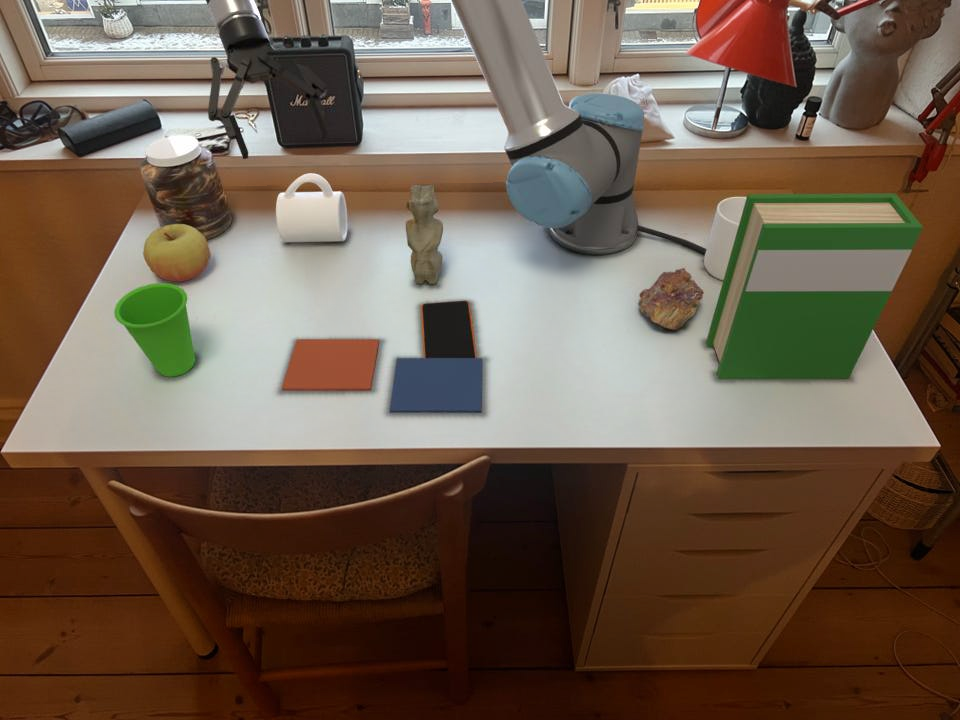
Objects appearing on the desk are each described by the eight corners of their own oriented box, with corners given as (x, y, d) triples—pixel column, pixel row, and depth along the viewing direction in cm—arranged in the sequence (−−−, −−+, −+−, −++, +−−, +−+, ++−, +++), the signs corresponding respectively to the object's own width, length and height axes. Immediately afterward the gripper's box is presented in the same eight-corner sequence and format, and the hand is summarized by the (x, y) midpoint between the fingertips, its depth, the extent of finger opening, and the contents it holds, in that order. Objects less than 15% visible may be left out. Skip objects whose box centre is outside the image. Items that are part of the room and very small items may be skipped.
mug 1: (291, 225, 125) (277, 163, 116) (349, 224, 125) (339, 162, 116) (282, 251, 119) (267, 188, 110) (343, 250, 119) (333, 187, 110)
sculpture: (448, 263, 116) (444, 181, 105) (442, 289, 110) (437, 206, 100) (413, 261, 116) (406, 179, 106) (405, 287, 111) (397, 204, 101)
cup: (190, 391, 95) (164, 330, 87) (129, 382, 96) (99, 321, 88) (221, 347, 101) (199, 286, 93) (164, 339, 102) (138, 279, 95)
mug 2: (712, 297, 108) (728, 238, 101) (698, 252, 117) (712, 195, 110) (768, 298, 108) (788, 239, 101) (750, 253, 117) (768, 196, 109)
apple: (145, 291, 111) (127, 249, 105) (162, 256, 118) (146, 214, 112) (207, 288, 111) (193, 246, 106) (220, 253, 118) (207, 212, 113)
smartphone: (425, 383, 96) (425, 379, 95) (421, 307, 108) (420, 303, 107) (480, 379, 96) (480, 374, 96) (469, 303, 108) (469, 299, 108)
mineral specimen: (628, 277, 109) (657, 246, 105) (666, 298, 112) (696, 268, 108) (640, 326, 101) (672, 294, 97) (680, 347, 103) (713, 317, 99)
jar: (178, 207, 129) (151, 129, 119) (240, 208, 129) (218, 131, 119) (153, 243, 121) (121, 163, 111) (219, 244, 120) (193, 164, 110)
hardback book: (718, 378, 95) (765, 227, 79) (705, 342, 101) (747, 194, 84) (848, 378, 95) (923, 227, 79) (829, 342, 100) (895, 193, 84)
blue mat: (482, 360, 99) (482, 358, 98) (481, 412, 91) (481, 410, 91) (397, 360, 99) (396, 358, 98) (389, 412, 91) (389, 410, 91)
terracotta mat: (379, 341, 102) (379, 339, 101) (370, 390, 94) (370, 388, 94) (297, 341, 102) (296, 339, 102) (282, 390, 95) (281, 388, 94)
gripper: (308, 25, 125) (351, 137, 126) (165, 51, 117) (211, 172, 117) (313, 1, 118) (358, 120, 119) (161, 27, 110) (210, 155, 110)
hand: (285, 146), depth 118 cm, fingers open, 13 cm apart
